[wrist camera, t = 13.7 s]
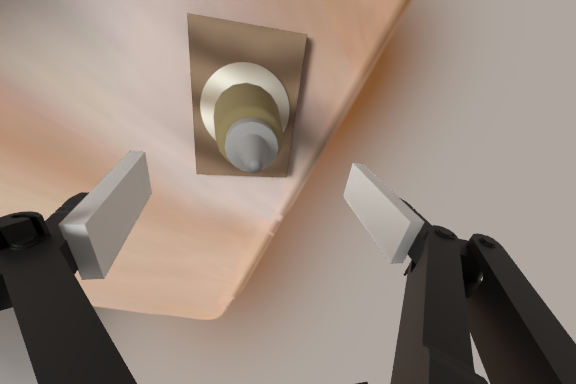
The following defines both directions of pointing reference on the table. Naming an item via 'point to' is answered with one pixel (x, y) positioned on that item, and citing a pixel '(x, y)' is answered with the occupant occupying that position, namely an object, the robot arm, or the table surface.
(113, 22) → the table surface
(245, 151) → the squeeze bottle
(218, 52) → the walnut board
